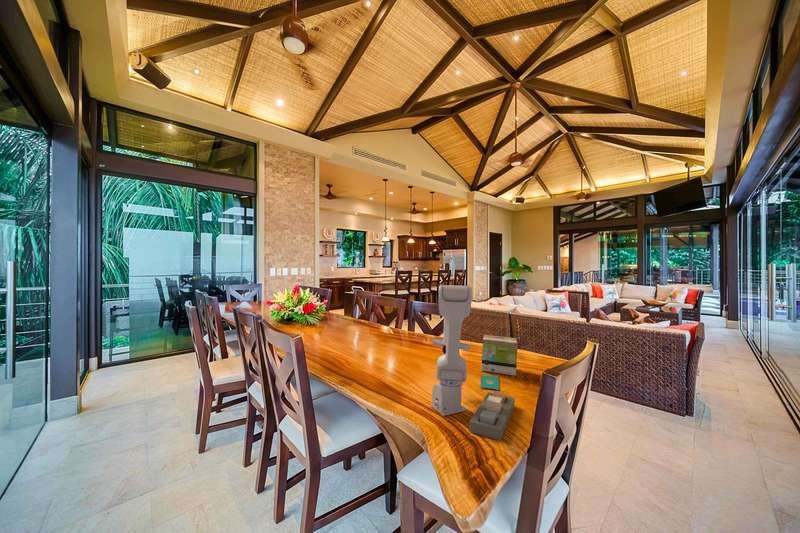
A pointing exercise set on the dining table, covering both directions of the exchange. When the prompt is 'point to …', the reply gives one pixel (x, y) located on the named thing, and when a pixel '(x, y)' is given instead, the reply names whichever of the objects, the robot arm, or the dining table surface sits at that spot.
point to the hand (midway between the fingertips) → (450, 366)
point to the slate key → (488, 417)
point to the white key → (494, 404)
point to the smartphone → (490, 382)
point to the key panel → (501, 422)
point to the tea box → (499, 354)
